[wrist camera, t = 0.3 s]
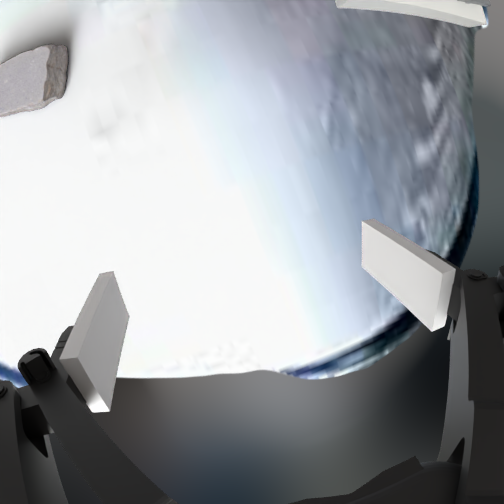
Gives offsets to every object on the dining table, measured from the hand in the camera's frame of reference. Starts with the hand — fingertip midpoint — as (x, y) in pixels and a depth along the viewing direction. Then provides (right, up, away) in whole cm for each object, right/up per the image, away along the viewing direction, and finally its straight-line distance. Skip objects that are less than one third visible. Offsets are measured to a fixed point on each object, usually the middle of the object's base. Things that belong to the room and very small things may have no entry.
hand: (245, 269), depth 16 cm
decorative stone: (-29, +23, +15) cm, 40 cm away
